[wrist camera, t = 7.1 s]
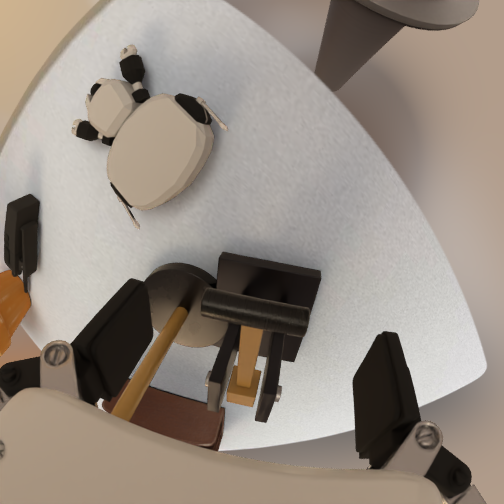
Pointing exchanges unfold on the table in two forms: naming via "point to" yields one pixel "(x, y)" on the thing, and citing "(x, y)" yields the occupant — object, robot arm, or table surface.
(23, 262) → the walkie-talkie
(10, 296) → the flower pot
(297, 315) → the switch lever
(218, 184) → the table surface
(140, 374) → the desk lamp
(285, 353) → the black pivot bracket
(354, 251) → the table surface
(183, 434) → the letter holder
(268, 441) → the table surface
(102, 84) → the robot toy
